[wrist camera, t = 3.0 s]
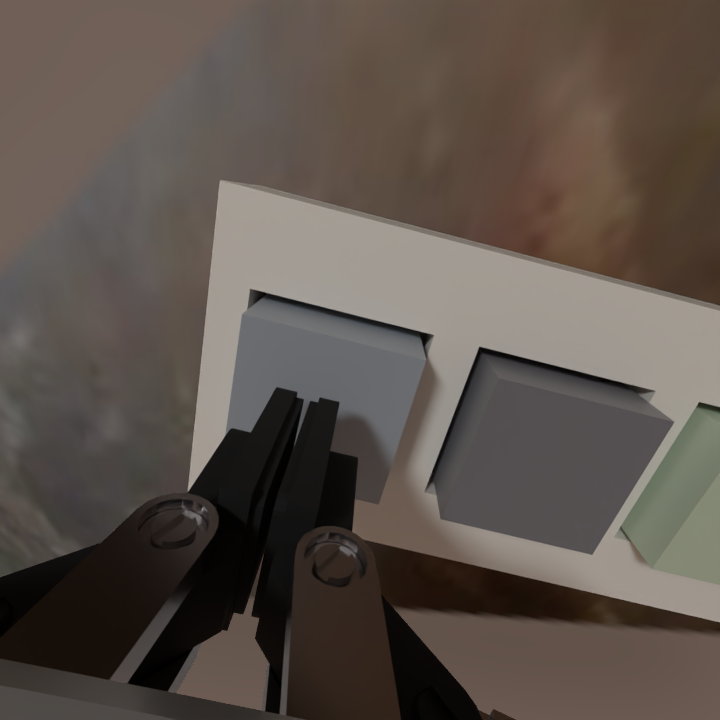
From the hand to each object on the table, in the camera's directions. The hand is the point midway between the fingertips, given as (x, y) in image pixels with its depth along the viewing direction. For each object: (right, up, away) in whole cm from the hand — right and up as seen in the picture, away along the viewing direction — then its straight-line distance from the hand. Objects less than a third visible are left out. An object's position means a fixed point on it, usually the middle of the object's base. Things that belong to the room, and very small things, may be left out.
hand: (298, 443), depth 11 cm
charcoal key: (+7, 0, +4) cm, 8 cm away
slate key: (+1, +2, +4) cm, 4 cm away
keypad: (+7, +1, +6) cm, 10 cm away
